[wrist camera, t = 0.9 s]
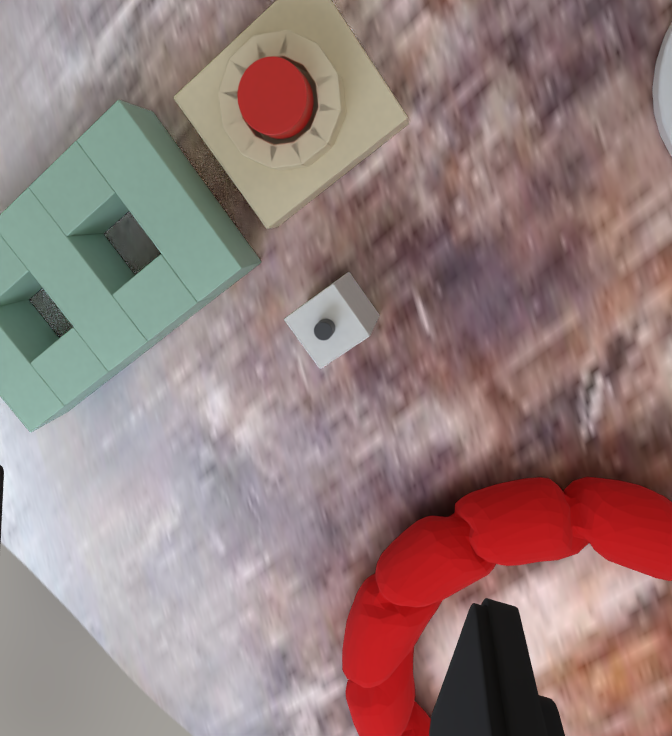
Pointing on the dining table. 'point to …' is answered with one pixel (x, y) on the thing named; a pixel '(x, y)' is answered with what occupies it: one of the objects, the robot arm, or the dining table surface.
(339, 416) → the dining table surface
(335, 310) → the white block with knob
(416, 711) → the decorative ring
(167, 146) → the green socket board
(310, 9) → the switch box
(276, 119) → the power button
